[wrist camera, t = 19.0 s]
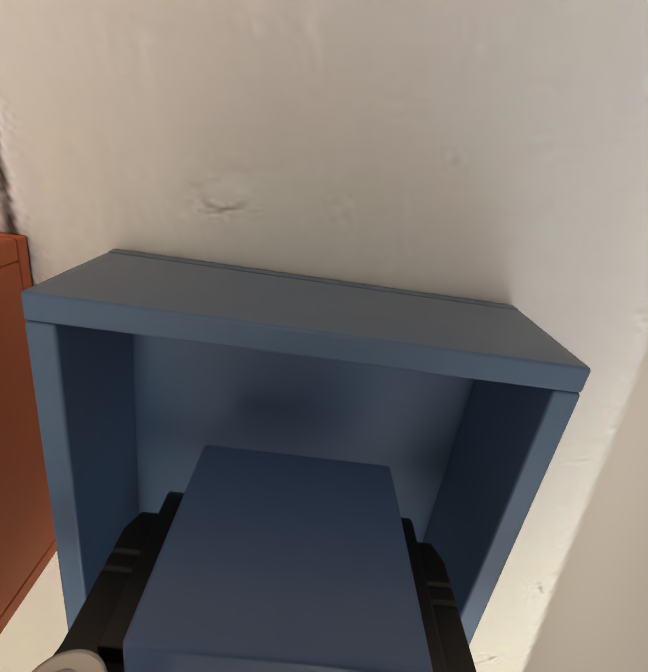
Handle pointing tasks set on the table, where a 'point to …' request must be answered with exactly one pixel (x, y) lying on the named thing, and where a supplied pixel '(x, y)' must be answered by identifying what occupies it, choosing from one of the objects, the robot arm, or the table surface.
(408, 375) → the blue bin
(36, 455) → the terracotta bin
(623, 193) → the table surface
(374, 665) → the blue block
